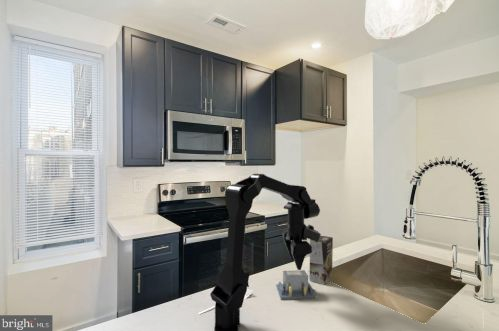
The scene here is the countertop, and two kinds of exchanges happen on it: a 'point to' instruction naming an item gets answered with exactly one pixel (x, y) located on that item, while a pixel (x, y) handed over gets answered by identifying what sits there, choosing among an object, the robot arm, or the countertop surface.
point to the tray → (295, 295)
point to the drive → (295, 281)
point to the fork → (214, 306)
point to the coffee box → (321, 260)
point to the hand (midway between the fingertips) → (295, 264)
